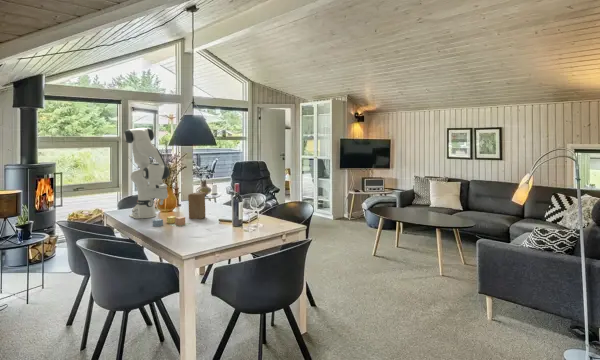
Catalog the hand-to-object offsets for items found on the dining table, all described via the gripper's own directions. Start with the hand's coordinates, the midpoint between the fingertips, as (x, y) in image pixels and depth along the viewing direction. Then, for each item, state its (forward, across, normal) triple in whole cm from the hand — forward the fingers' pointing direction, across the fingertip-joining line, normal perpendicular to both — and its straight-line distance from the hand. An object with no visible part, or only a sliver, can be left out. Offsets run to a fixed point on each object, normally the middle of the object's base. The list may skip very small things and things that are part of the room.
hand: (157, 204), depth 267 cm
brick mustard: (+16, 0, +12) cm, 20 cm away
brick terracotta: (+16, +11, +11) cm, 22 cm away
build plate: (+16, +11, +11) cm, 22 cm away
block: (+17, +2, +35) cm, 39 cm away
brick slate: (+16, 0, 0) cm, 16 cm away
